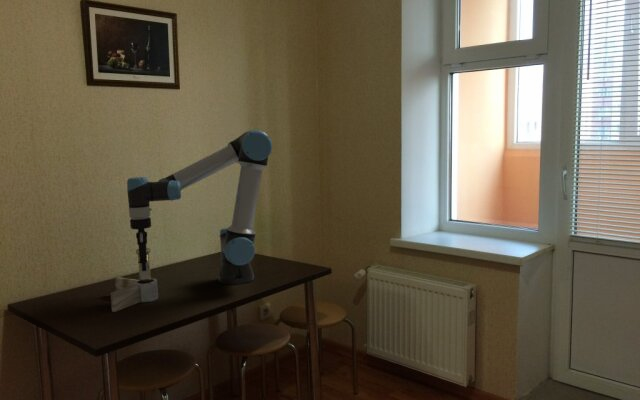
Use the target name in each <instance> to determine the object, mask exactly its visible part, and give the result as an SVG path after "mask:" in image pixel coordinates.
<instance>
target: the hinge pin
mask: <svg viewBox="0 0 640 400" xmlns="http://www.w3.org/2000/svg"><path fill="white" fill-rule="evenodd" d="M150 253H151V249H150V248H149V247H146V255H147V262H148V274H149V279H142V280H141V269H140V263H138V262H140V256H139V248H137V249H135V254H136V255H137V260H138V261H137V263H138V274H139V280H140V283H141V284H143V283H150V282H151V278H152V277H151V268H150V267H151V265H150V264H151V263H150Z"/></svg>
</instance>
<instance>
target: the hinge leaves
mask: <svg viewBox="0 0 640 400" xmlns="http://www.w3.org/2000/svg"><path fill="white" fill-rule="evenodd" d="M137 280H138V279H134V278H127V277H119V276H116V277H114V283H115V291H112V292H110V301H111V302H110V305H111V312H113V313H115V312H119V311H120V310H123V309H125V308H129V307H131V306H134V305H136V304H138V303H141V302H140V299H139V287H138V284H135V285H134V281H137Z"/></svg>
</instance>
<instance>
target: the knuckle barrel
mask: <svg viewBox="0 0 640 400" xmlns="http://www.w3.org/2000/svg"><path fill="white" fill-rule="evenodd" d="M136 280H137V281H134V285H135V284H138V287H139V299H140V302H139V303H147V302H153V301H156V300H158V299H159V290H158V279H157V278H152V277H151V282H150V283H143V284H141V283H140V279H136Z"/></svg>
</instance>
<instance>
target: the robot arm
mask: <svg viewBox="0 0 640 400" xmlns="http://www.w3.org/2000/svg"><path fill="white" fill-rule="evenodd" d="M272 151H273V143H272V140H271V138H270V136H269V135H268V134H267V133H266V132H264V131H262V130H259V129H251V130H247V131H245V132H244V133H242V134H241V135H239V136H238V137H236V138H235V139H233V140H231V141H230V142H228V143H227V146H225V147H223V148H221V149H219V150H217V151H216V152H214V153H211V154H209V155H207V156H206V157H203V158H202V159H199V160H198V161H196V162H193V163H192V164H190V165H187V166H185V167H183V168H182V169H179V170H177V171H175V172H174V173H172V174H170V175H167V176H166V177H163V178H161V179H159V180H158V181H149V179H148V177H146V176H139V177H137V176H136V177H130V178H128V179H127V180H126V186H127V187H126V188H127V191H126V192H127V201H128V214H129V218H130V220H129V223H130V229H132V230H137V232H136V233H135V234H136V235H135V236H136V240H137V241H136V242H137V246H138V249H139V256H140V262H138V261H137V264H139V263H140V269H141V280H142V279H149V274H148V262H147V255H146V248H147V245H148V231H146V230H145V229H150V228H151V227H152V220H151V217H150V216H151V212H152V210H153V209H152V208H151V207H150V202H162V201H163V202H164V201H171V202H173V201H177V200H180V199H181V198H182V193H181V192H182V190H185V189H186V188H188V187H190V186H193V185H194V184H196V183H198V182H200V181H202V180H204V179H206V178H208V177H209V176H212V175H214V174H216V173H218V172H220V171H221V170H223V169H226V168H228V167H230V166H231V165H234V164H235V163H237V164H239V165H240V171H239V177H238V182H237V183H238V184H237V188H236V189H237V190H236V196H235V203H234V207H233V208H234V209H233V214H232V220H231V225H230V226H228V227H226V228H225V227H224V228H221V229H220V230H219V239H220V240H219V241H220V242H219V243H220V254H221V255H220V256H221V266H220V270H219V274H218V283H220V284H222V285H242V284H246V283H250V282H251V281H253V280H254V279H255V274H254V271H253V268H252V265H251V261H252V260H253V258H254V257H255V253H256V247H255V240H256V234H257V232H256V230H254V222H255V216H256V213H257V212H256V210H257V206H258V200H259V194H260V187H261V182H262V181H261V180H262V174H263V170H265V168H267V167H268V161H269V157H270V155H271V153H272Z"/></svg>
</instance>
